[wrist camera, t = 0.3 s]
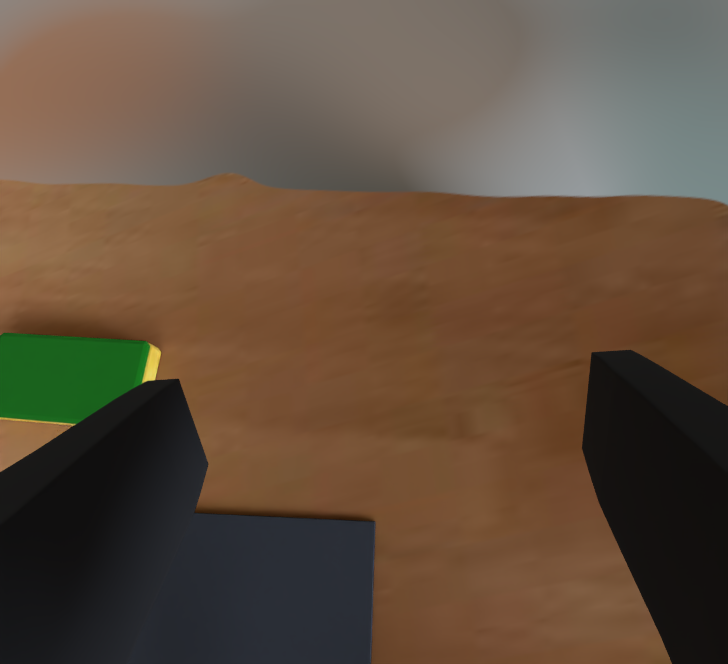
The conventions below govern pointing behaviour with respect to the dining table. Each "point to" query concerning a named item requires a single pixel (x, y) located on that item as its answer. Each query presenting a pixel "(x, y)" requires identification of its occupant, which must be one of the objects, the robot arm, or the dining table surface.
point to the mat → (264, 594)
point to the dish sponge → (68, 375)
